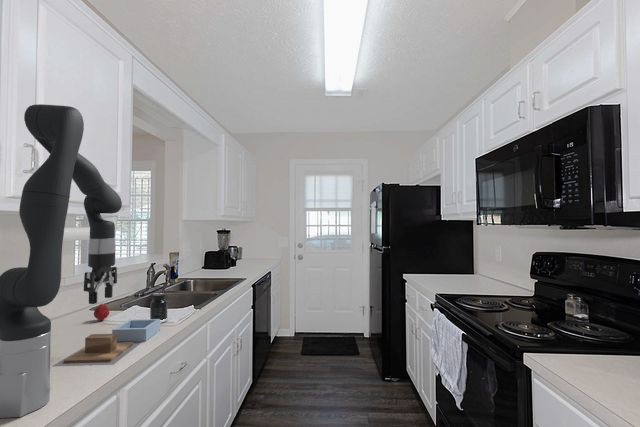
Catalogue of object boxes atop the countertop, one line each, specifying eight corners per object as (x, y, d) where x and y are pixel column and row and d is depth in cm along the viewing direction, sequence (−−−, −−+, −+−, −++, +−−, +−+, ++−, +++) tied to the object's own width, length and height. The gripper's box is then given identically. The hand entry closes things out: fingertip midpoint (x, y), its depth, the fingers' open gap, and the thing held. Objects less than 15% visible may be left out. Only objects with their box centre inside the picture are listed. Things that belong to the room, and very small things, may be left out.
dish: (146, 342, 118) (146, 328, 118) (112, 343, 117) (112, 329, 117) (160, 331, 130) (160, 318, 130) (129, 332, 129) (129, 319, 129)
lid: (110, 361, 101) (110, 343, 101) (63, 363, 100) (63, 344, 100) (133, 344, 115) (133, 328, 115) (92, 345, 114) (92, 329, 114)
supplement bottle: (170, 319, 145) (170, 293, 145) (160, 324, 138) (160, 296, 139) (157, 319, 146) (157, 292, 147) (146, 323, 140) (146, 295, 140)
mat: (113, 366, 99) (113, 364, 99) (51, 367, 98) (51, 366, 98) (141, 343, 117) (141, 342, 117) (90, 345, 116) (90, 343, 116)
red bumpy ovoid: (112, 319, 146) (112, 301, 146) (100, 323, 140) (101, 304, 140) (102, 318, 147) (102, 300, 147) (90, 322, 142) (90, 303, 142)
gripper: (100, 254, 101) (99, 305, 101) (125, 250, 115) (124, 295, 115) (75, 254, 101) (74, 306, 100) (103, 250, 115) (102, 296, 114)
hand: (101, 300), depth 108 cm, fingers open, 8 cm apart
